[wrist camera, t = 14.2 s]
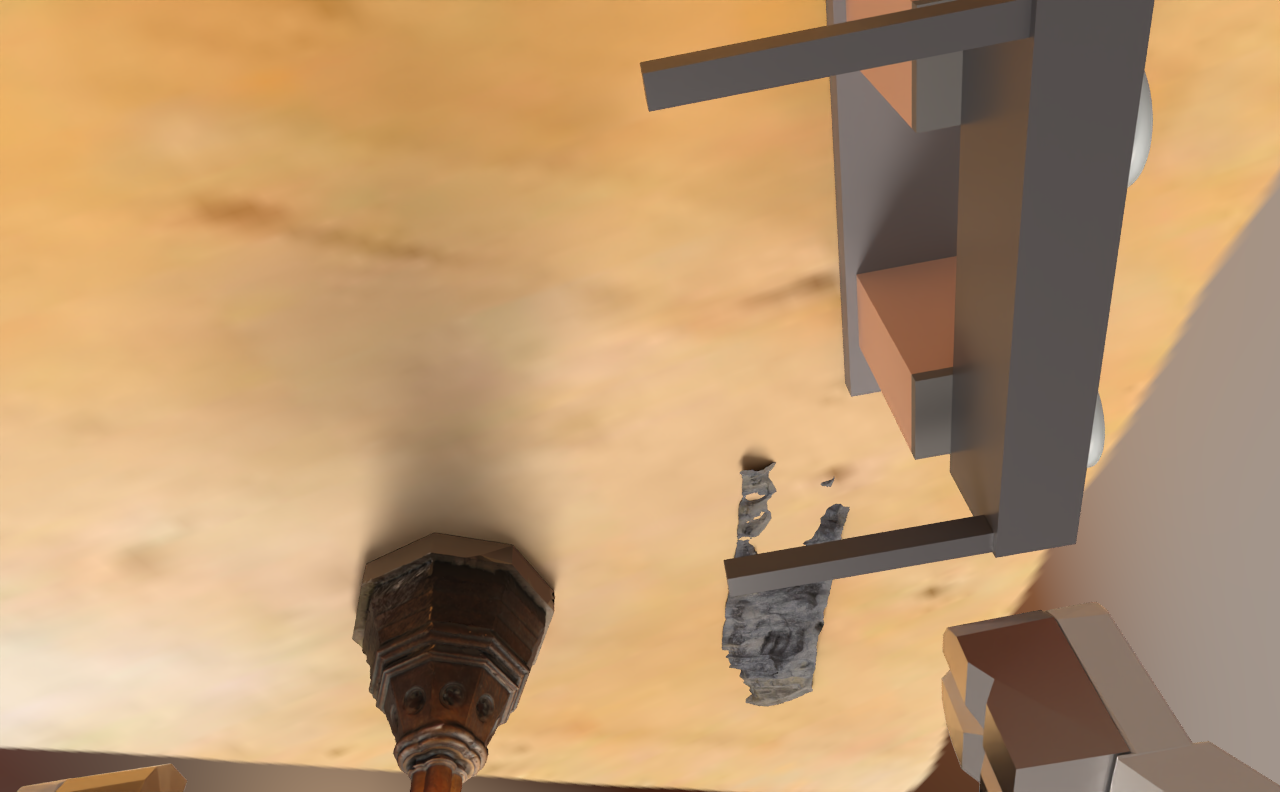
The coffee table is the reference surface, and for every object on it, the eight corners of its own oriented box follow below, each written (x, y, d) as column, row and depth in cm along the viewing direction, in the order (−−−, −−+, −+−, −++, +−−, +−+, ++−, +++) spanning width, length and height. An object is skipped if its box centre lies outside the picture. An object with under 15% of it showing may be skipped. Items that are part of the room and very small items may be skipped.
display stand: (845, 383, 48) (903, 514, 40) (818, -141, 34) (899, -102, 26) (980, 358, 48) (1066, 486, 40) (1008, -179, 34) (1149, -153, 26)
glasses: (713, 513, 39) (731, 603, 35) (631, 26, 28) (643, 77, 24) (1036, 456, 39) (1092, 540, 35) (1089, -64, 27) (1182, -29, 23)
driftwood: (806, 693, 64) (813, 720, 62) (707, 697, 64) (711, 724, 62) (860, 450, 52) (871, 475, 50) (738, 451, 52) (744, 476, 50)
